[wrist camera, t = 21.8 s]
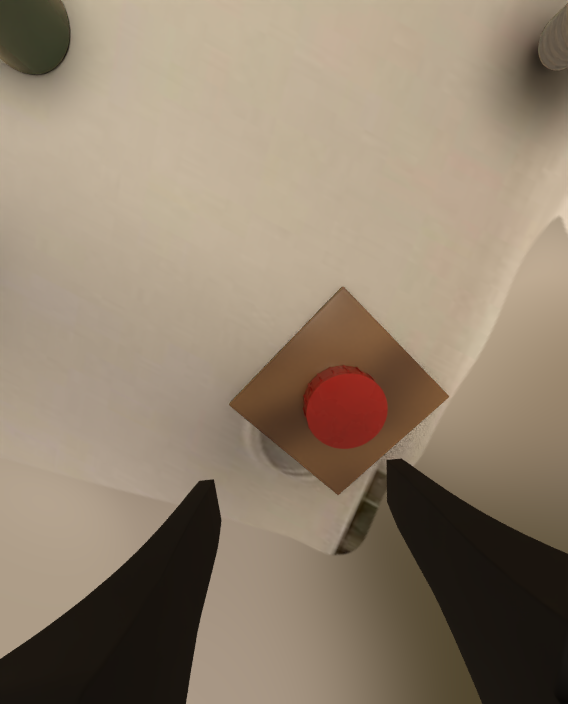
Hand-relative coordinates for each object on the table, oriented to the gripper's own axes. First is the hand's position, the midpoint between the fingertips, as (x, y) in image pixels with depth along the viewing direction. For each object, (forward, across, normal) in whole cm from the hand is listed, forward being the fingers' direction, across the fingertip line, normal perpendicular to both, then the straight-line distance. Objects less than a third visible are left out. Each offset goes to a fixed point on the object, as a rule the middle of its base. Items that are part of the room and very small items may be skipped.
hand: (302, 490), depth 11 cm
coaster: (+8, -4, 0) cm, 9 cm away
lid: (+7, -4, 0) cm, 7 cm away
